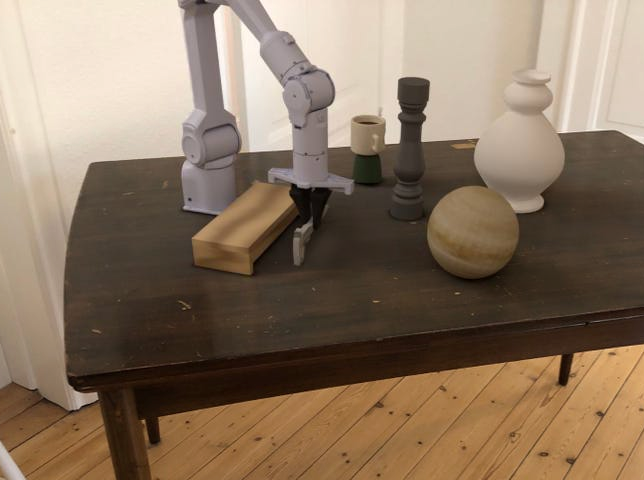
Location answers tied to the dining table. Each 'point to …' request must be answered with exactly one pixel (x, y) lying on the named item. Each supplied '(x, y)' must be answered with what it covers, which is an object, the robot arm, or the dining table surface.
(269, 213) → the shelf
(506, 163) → the decorative vase
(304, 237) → the caliper
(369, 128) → the character mug
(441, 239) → the decorative ball
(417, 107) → the candle holder
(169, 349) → the dining table surface
